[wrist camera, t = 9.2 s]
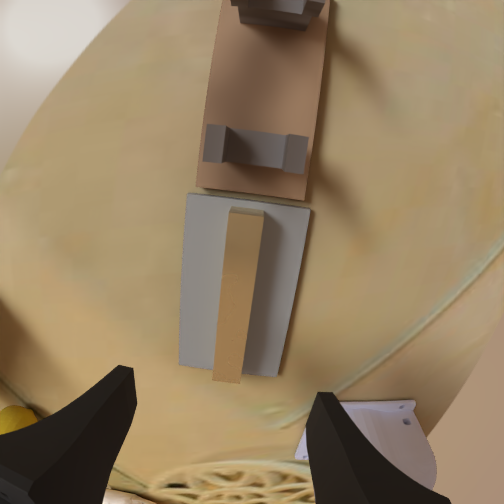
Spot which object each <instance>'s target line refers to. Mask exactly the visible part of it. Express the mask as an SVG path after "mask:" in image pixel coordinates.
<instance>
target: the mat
mask: <svg viewBox="0 0 504 504" xmlns="http://www.w3.org/2000/svg"><path fill="white" fill-rule="evenodd" d="M231 206H235V207H243V208H251V209H259V210H264V222H263V229H262V236H261V243H260V250H259V257H258V264H257V271H256V277H255V284H254V291H253V298H252V305H251V312H250V319H249V325H248V332H247V339H246V346H245V352H244V359H243V366H242V373H241V374H250V375H260V376H270V377H277V374H278V369H279V365H280V361H281V356H282V352H283V347H284V343H285V338H286V334H287V329H288V325H289V320H290V315H291V310H292V306H293V301H294V296H295V291H296V286H297V281H298V276H299V271H300V265H301V260H302V255H303V249H304V244H305V239H306V233H307V227H308V222H309V216H310V208H305V207H299V206H292V205H285V204H278V203H270V202H263V201H256V200H248V199H240V198H232V197H224V196H215V195H206V194H197V193H188V194H187V202H186V214H185V227H184V242H183V257H182V276H181V298H180V331H179V365H184V366H190V367H196V368H203V369H210V370H213V366H214V355H215V343H216V332H217V321H218V311H219V300H220V290H221V280H222V270H223V261H224V251H225V242H226V233H227V224H228V215H229V211H230V208H231Z"/></svg>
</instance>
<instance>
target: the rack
mask: <svg viewBox="0 0 504 504" xmlns="http://www.w3.org/2000/svg"><path fill="white" fill-rule="evenodd" d="M329 5H330V0H223V1H222V6H221V11H220V16H219V22H218V27H217V33H216V39H215V45H214V51H213V57H212V63H211V69H210V76H209V82H208V89H207V96H206V103H205V111H204V118H203V126H202V134H201V143H200V151H199V160H198V169H197V179H196V187H203V188H212V189H220V190H229V191H237V192H245V193H253V194H261V195H268V196H275V197H282V198H289V199H296V200H303V201H304V198H305V192H306V186H307V180H308V173H309V167H310V160H311V153H312V147H313V140H314V133H315V125H316V118H317V111H318V103H319V95H320V88H321V79H322V71H323V63H324V54H325V45H326V35H327V26H328V16H329Z"/></svg>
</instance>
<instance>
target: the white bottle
mask: <svg viewBox="0 0 504 504" xmlns="http://www.w3.org/2000/svg"><path fill="white" fill-rule="evenodd" d="M102 504H157V503H154V502H152V501H149V500H146V499H143V498H141V497H139V496H137V495H136V494H131V493H126V492H121V491H117V490H112V489H107V488H106V491H105V495H104V499H103V503H102Z"/></svg>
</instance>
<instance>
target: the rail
mask: <svg viewBox="0 0 504 504" xmlns="http://www.w3.org/2000/svg"><path fill="white" fill-rule="evenodd" d="M263 222H264V210H259V209H251V208H243V207H235V206H231V208H230V211H229V215H228V224H227V233H226V242H225V251H224V261H223V270H222V280H221V290H220V300H219V311H218V321H217V332H216V343H215V355H214V366H213V379H212V380H214V381H221V382H229V383H238V384H240V379H241V373H242V366H243V359H244V352H245V346H246V339H247V332H248V325H249V319H250V312H251V305H252V298H253V291H254V284H255V277H256V271H257V264H258V257H259V250H260V243H261V236H262V229H263Z"/></svg>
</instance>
